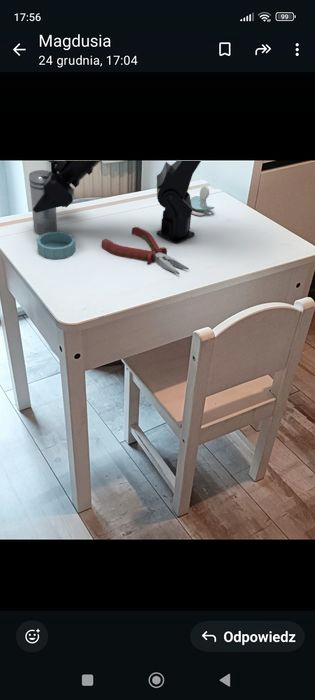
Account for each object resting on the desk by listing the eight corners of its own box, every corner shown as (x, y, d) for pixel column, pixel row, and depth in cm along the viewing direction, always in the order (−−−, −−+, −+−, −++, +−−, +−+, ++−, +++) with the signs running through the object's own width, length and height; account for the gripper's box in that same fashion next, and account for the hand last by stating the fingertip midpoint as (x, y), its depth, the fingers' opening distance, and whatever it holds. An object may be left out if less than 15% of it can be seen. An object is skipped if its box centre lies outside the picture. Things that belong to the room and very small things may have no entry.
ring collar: (59, 238, 127) (58, 228, 125) (82, 251, 123) (82, 241, 121) (30, 249, 122) (29, 239, 121) (53, 262, 118) (52, 252, 117)
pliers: (164, 286, 114) (165, 274, 113) (98, 249, 125) (98, 238, 123) (201, 267, 121) (202, 256, 120) (136, 234, 132) (136, 223, 130)
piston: (47, 222, 132) (43, 168, 124) (62, 230, 130) (59, 175, 122) (29, 229, 129) (23, 174, 121) (43, 237, 126) (39, 181, 118)
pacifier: (195, 219, 139) (216, 215, 141) (197, 195, 135) (218, 191, 137) (181, 207, 144) (201, 203, 146) (182, 184, 140) (203, 180, 142)
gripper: (62, 111, 122) (16, 159, 129) (52, 140, 108) (0, 193, 114) (99, 150, 128) (53, 194, 134) (94, 182, 113) (42, 230, 119)
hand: (37, 201), depth 125 cm, fingers open, 9 cm apart
